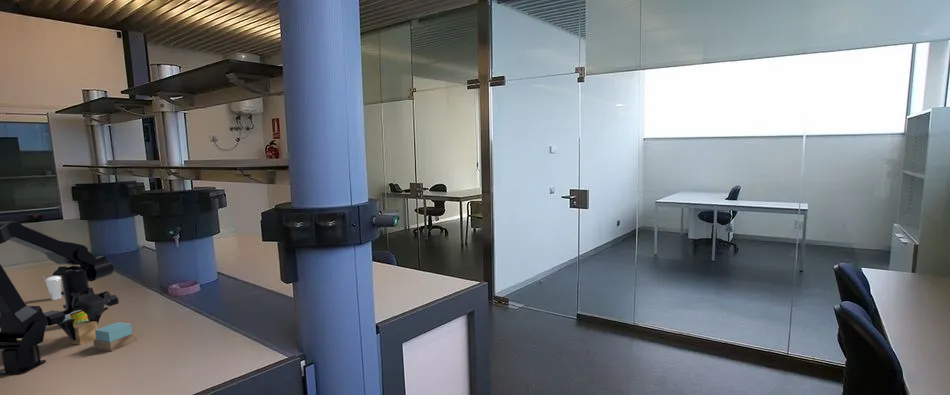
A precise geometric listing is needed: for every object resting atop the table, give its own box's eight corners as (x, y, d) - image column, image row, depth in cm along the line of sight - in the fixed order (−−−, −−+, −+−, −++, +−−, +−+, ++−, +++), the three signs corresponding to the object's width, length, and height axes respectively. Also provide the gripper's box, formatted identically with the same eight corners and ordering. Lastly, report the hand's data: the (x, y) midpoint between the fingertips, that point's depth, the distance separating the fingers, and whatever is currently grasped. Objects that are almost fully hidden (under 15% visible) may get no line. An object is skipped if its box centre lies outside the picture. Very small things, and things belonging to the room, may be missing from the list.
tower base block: (111, 352, 126) (110, 342, 126) (94, 350, 128) (93, 340, 128) (137, 342, 133) (135, 332, 132) (120, 340, 135) (119, 330, 135)
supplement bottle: (76, 327, 146) (72, 298, 145) (63, 326, 147) (59, 298, 146) (93, 320, 151) (89, 292, 150) (81, 320, 153) (76, 292, 151)
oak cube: (80, 344, 132) (78, 328, 131) (69, 343, 133) (66, 327, 133) (99, 337, 137) (96, 321, 136) (88, 336, 138) (85, 320, 137)
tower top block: (110, 342, 126) (108, 332, 126) (96, 340, 128) (94, 330, 128) (132, 333, 132) (131, 323, 131) (119, 331, 134) (117, 322, 133)
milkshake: (49, 298, 179) (45, 274, 178) (66, 296, 181) (62, 272, 180) (43, 301, 175) (39, 277, 174) (61, 299, 177) (57, 274, 176)
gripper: (56, 298, 122) (65, 353, 123) (127, 278, 139) (134, 326, 141) (30, 296, 125) (39, 349, 127) (103, 276, 143) (110, 323, 145)
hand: (83, 336), depth 135 cm, fingers closed on oak cube, 5 cm apart
